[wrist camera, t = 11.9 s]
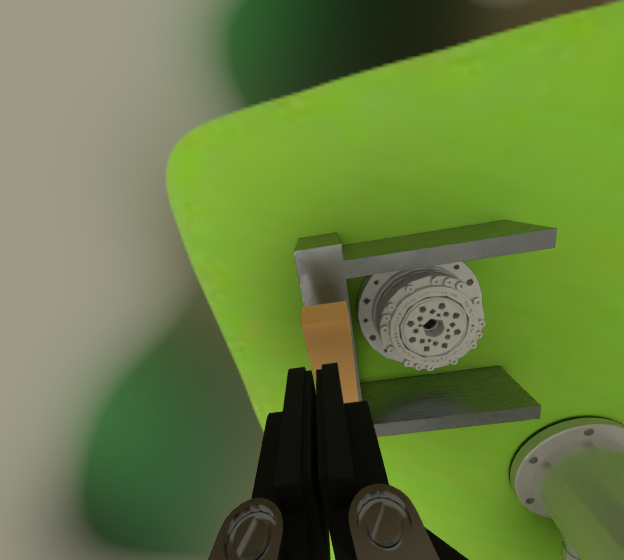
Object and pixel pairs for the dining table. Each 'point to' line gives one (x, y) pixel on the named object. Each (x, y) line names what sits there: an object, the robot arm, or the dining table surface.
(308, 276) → the bracket
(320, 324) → the bar
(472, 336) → the mechanical component
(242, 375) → the dining table surface
